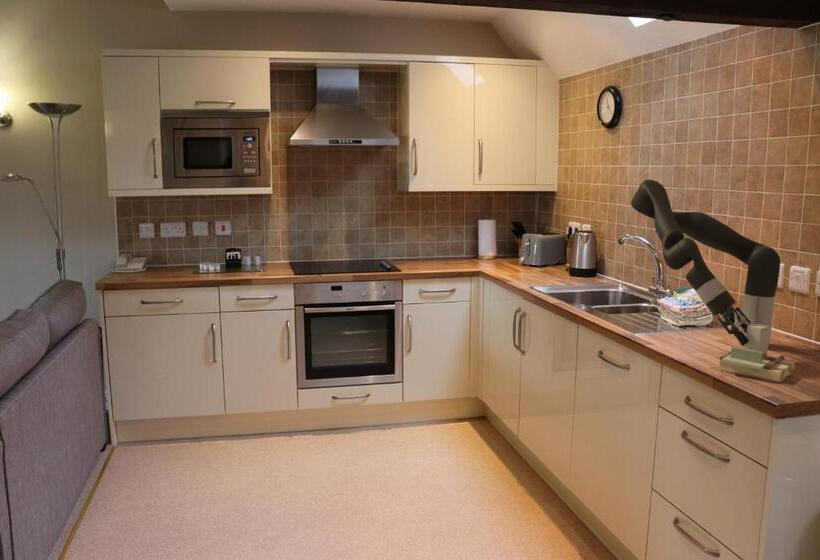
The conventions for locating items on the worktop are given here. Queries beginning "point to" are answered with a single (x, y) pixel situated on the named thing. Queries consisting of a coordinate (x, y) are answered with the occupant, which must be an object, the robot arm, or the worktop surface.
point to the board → (771, 372)
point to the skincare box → (758, 338)
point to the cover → (746, 358)
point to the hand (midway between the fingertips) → (750, 341)
